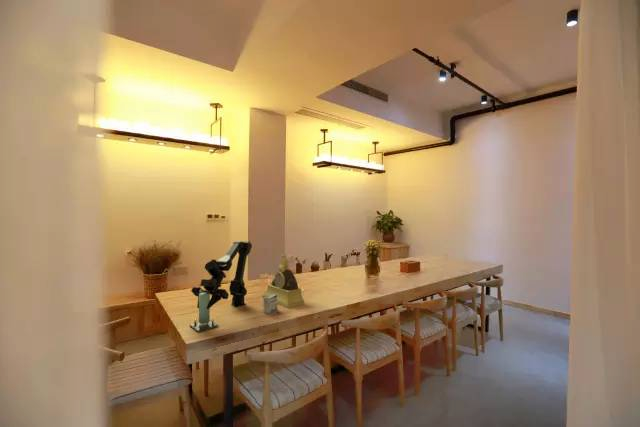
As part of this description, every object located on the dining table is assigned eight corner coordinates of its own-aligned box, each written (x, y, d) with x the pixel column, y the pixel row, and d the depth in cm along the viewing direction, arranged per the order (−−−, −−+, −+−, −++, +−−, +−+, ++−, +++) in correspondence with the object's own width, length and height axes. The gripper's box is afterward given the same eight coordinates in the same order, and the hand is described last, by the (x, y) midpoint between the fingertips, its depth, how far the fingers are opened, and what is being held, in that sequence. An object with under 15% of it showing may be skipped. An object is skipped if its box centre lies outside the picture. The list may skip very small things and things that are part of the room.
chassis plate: (209, 320, 146) (209, 314, 146) (218, 326, 139) (218, 319, 139) (189, 326, 138) (189, 319, 138) (198, 332, 132) (198, 325, 131)
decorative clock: (262, 297, 187) (262, 252, 186) (277, 293, 196) (278, 251, 195) (287, 308, 166) (288, 258, 166) (303, 303, 175) (304, 256, 175)
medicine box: (270, 313, 157) (270, 298, 157) (263, 312, 159) (263, 297, 159) (277, 309, 165) (277, 294, 165) (270, 308, 166) (270, 293, 166)
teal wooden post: (209, 319, 142) (209, 291, 142) (209, 322, 137) (209, 294, 137) (198, 320, 140) (199, 292, 140) (198, 324, 135) (198, 295, 135)
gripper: (193, 271, 144) (178, 298, 134) (225, 273, 140) (212, 302, 129) (203, 282, 152) (189, 309, 141) (233, 285, 148) (221, 313, 137)
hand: (202, 308), depth 137 cm, fingers closed on teal wooden post, 5 cm apart
